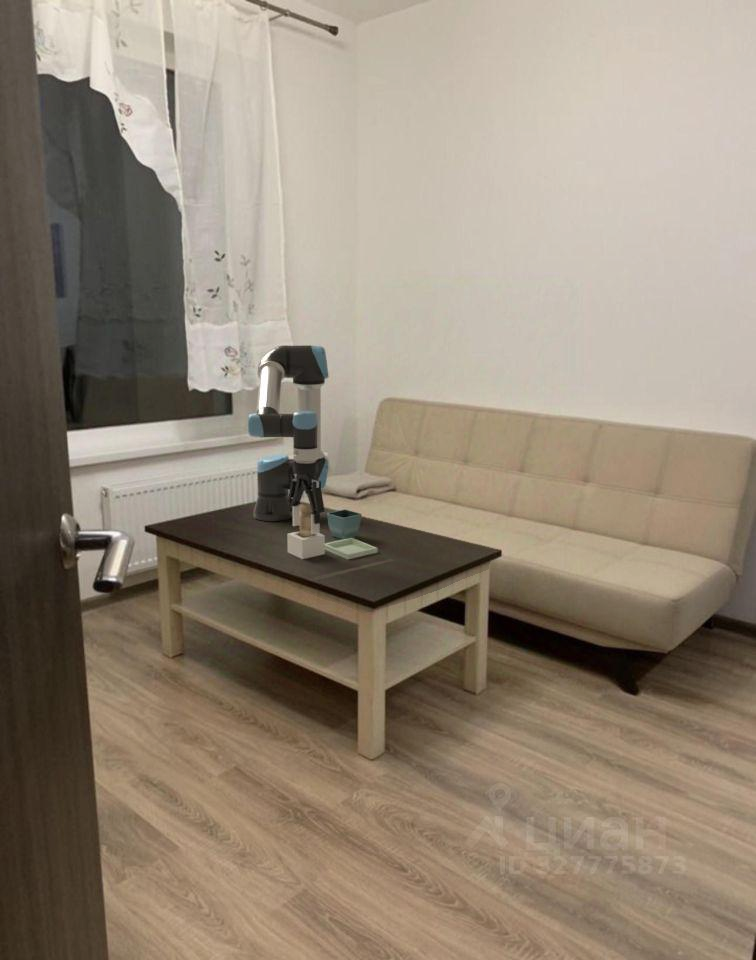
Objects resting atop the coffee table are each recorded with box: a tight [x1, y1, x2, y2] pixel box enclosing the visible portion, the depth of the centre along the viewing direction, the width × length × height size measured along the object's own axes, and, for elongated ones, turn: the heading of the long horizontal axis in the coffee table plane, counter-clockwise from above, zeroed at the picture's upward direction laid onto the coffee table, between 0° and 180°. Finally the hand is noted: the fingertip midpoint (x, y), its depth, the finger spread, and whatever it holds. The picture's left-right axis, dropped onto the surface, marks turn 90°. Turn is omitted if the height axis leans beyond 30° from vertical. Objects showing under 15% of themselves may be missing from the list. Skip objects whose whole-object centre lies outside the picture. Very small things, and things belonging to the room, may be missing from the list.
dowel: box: [299, 502, 312, 538], centre depth 240 cm, size 4×4×16 cm
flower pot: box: [326, 509, 363, 540], centre depth 260 cm, size 9×9×9 cm
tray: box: [325, 537, 378, 560], centre depth 245 cm, size 14×12×2 cm
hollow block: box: [286, 530, 326, 560], centre depth 242 cm, size 9×9×7 cm
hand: (305, 529), depth 240 cm, fingers open, 10 cm apart
